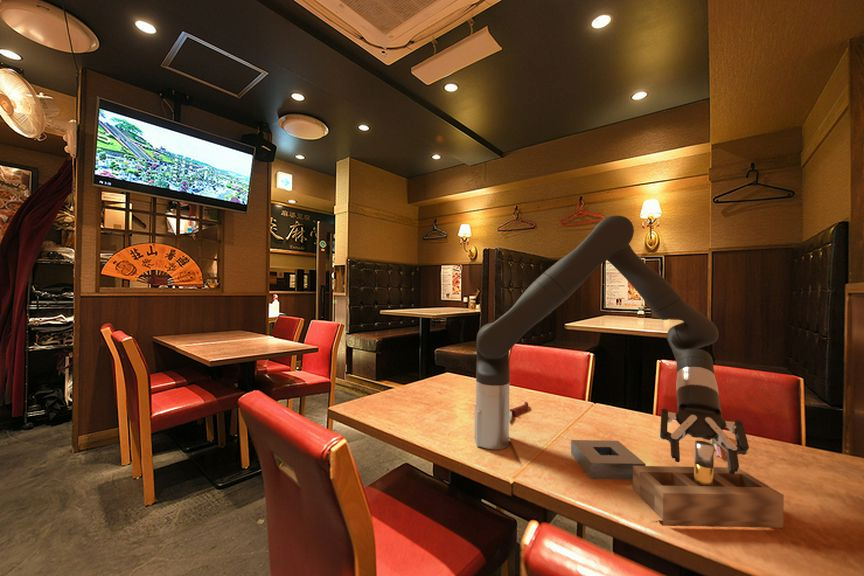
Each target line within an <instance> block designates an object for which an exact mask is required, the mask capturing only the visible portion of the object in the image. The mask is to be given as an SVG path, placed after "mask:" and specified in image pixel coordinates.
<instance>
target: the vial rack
mask: <svg viewBox="0 0 864 576" xmlns="http://www.w3.org/2000/svg"><path fill="white" fill-rule="evenodd" d="M632 490H633V492H635V493H636V495H638V497H640V498H641V500H642V501H643V502H644V503H645V504H646V505H647V506H648V507H649V508H650V509H651V510H652V511H653V512H654V513H655V514H656V515H657V517H659V518H660V519H659V520H657V521H658V522H659V523H660V525H662V526H664V527H665V526H668V527H669V526H670V527H672V526H674V527H721V528H722V527H723V528H724V527H726V528H727V527H729V528H730V527H731V528H734V527H735V528H777V529H778V528H779V529H783V528H784V510H785V509H784V505H785V503H784V502H785V501H784V498H785V496H784V494H783V493H781V492H779V491H778V490H776V489H775V488H773V487H771V486H769V485H768V484H766V483H765V482H762V481H761V480H759V479H757V478H756V477H755V476H753V475H751V474H749V473H747V472H746V471H744V470H742V469H741V468H740V467H739V468H738V471H737V472H735V473H734V474H730V473H729V470H728V466H727V467H726V466H723V467H722V466H714V468H713V486H699V485H697V484H696V483H695V482H694V466H669V465H667V466H665V465H657V466H656V465H646V466H633V480H632Z"/></svg>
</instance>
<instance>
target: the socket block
mask: <svg viewBox="0 0 864 576" xmlns="http://www.w3.org/2000/svg"><path fill="white" fill-rule="evenodd" d="M570 454H571V456H572V457H573V458H574V459H575V460H576V462H577V463H578V465H580V467H581V468H582V469H583V470H584V472H585V473H586V474H587V476H589V479H591V480H632V481H633V466H647V465H646V462H644V461H643V460H642V459H640V458H639V457H638V456H637V455H636V454H634V453H633V451H632V450H630V449H628V448H627V447H626V446H625V445H624V444H623V443H622V442H620V441H619V440H604V439H603V440H601V439H600V440H598V439H597V440H595V439H571V440H570Z"/></svg>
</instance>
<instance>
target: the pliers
mask: <svg viewBox="0 0 864 576" xmlns="http://www.w3.org/2000/svg"><path fill="white" fill-rule="evenodd" d="M528 409H529V403H528V402H527V401H524V404H521V405H519V406H517V407H514V408H511V409H510V408H509V423H511V422H512V420H513V417H516V418H517V417H518V415H520V414H522V413H523V414H524V413H525V412H527V411H528Z"/></svg>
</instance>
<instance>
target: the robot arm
mask: <svg viewBox="0 0 864 576" xmlns="http://www.w3.org/2000/svg"><path fill="white" fill-rule="evenodd" d="M634 233H635V229H634V224H633V222H632V221H631V220H630V219H629V218H627V217H626V216H623V215H610V216H607V217H605V218H603V219H602V220H600V221H599V222H598V223H597V224H596V225H595V226H594V228H593V229H592V230H591V232H590V233H589V234H588V235H587V236H586V237H585V239H583V240H582V242H581V243H580V244H578V245H577V246H576V247H575V248H574V249H573V250H571V251H570V252H569V253H567V254H566V255H565V256H563V257H562V258H561V259H559V260H557V262H555V263H554V264H553V265H551V266H550V267H548V269H546V270H545V271H544V272H543V273H542V274H541V275H539V276H538V277H537V278H536V279H535V280H534V281H533V282H532V283H531V284H530V285H529V286H528V287H527V288H526V290H525V291H524V292H523V293H522V294H521V295H520V296H519V298H518V299H517V301H516V302H515V303H514V305H513V306H512V307H510V309H508V310H507V311H506V312H505V313H504V314H503V315H501V316H500V317H499V318H498V319H496V320H495V321H494V322H490V323H486V324H484V325H483V326H482V327H480V329H479V330H478V332H477V334H476V365H475V366H476V367H475V368H476V369H475V370H476V371H475V378H476V379H475V381H476V382H475V389H476V390H475V405H474V437H473V438H474V440H475V444H476V445H475V446H476V447H478V448H484V449H488V450H503V449H505V448H507V447H509V444H510V422H509V411H510V377H511V373H510V372H511V371H510V350H512V348H514V347H515V345H516V344H517V343H518V342H519V340H520V339H521V338H522V337H523V336H524V335H525V334H526V333H527V332H529V330H530V329H532V328H533V327H534V326H535V325H537V324H538V323H539V322H541V321H542V320H544V318H546V317H548V316H549V315H550V314H551V313H552V312H554V311H555V310H556V309H557V308H558V307H560V306H561V305H562V304H563V303H564V302H565V301H566V300H568V299H569V298H570V297H571V296H572V295H573V293H575V292H576V291H577V290H578V288H580V287H581V286H582V284H583V283H584V282H585V281H586V280H587V279H588V278H589V277H590V275H592V273H593V272H594V271H596V269H598V268H599V266H601V265H602V264H603V263H604V262H606V261H607V262H608V263H609V264H611V265H612V266H613V267H614V268H615V269H616V270H617V271H618V272H619V273H620V274H621V276H622V277H623V278H625V279H626V281H627V282H628V283H629V284H630V285H631V286H632V288H633V289H634V290H635V291H636V292H637V293H638V294H639V296H640V297H641V298H642V299H643V301H644V302H645V303H646V305H647V306H648V307H649V308H650V310H651V311H652V312H653V313H654V315H656V317H658V319H660V320H662V321H663V320H664V321H667V320H674V319H676V320H680V321H682V322H680V323H678V324H675V325H673V326H671V327H670V328H669V329H668V331H667V333H666V339H667V343H668V345H669V346H670V349H671V350H672V353H673V357H674V358H675V362H676V379H675V381H676V382H675V385H676V387H675V390H676V400H677V402H676V403H677V404H676V405H677V412H671V411H669V410H668V409H667V408H662V409H661V412H660V429H659V437H660V439H661V440H665V441H668V442H669V443H670V457H671V458H672V459H674V462H675V463H680V461H681V455H680V454H681V453H680V450H681V449H680V441H681V440H683V439H684V438H686V436H687V435H689V436H691V437H692V438H699V439H700V438H701V439H703V440H707V441H710V439H713V440H714V441H715V442H716V443H717V446H718V445H719V447H720V448H722V449H723V450H724V451H725V453H726V462H727V467H728V470H729V473H730V474H734V473H735V472H737V471H738V468H739V469H740V463H739V455H742V456H745V455H747V453H748V450H749V449H750V446H749V442H748V439H747V435H746V430H745V427H744V423H743V421H742V420H739V419H736V420H735V421H729V420H725V419H724V418H723V416H722V409H721V402H720V395H719V388H718V387H719V386H718V382H717V380H716V375H715V368H714V360H713V357H712V355H711V354H710V353H709V352H707V350H704V349H701V348H703V347H707V346H710V345H713V344H714V343H716V342H717V341H718V340H719V336H720V335H719V330H718V327H717V325H716V324H715V323H714V321H712V320H711V319H709V318H708V317H707V316H706V315H704V314H703V313H701V312H700V311H698V310H697V309H695V308H694V307H693V306H691V305H690V304H688V303H687V302H686V301H685V300H684V299H683V298H682V297H681V295H680V294H679V293H678V292H677V291H676V290H675V289H674V288H673V286H672V285H671V284H670V282H668V281H667V280H666V278H664V277H663V276H662V275H660V274H659V273H658V272H657V271H655V270H654V269H653V268H652V267H650V266H649V265H648V264H647V263H645V262H644V261H643V260H642V259H641V258H640V257H639V255H637V253H636V252H635V251H634V249H633V248H632V246H631V244H630V243H631V242H632V240H633V237H634ZM673 420H675V421H676V422H677V423H678V424H679V426H678V427H677V428H676V429H675V430H674V431H673V432H669V431H668V425H669V423H672V422H673ZM726 428H727V429H728V430H729V433H731V434H734V436H735V440H736V441H735V442H736V444H735V443H734V442H733V441H732V440H731V439H730V438H729V436H728V435H727V434H726V433H725V431H724V430H725V429H726Z"/></svg>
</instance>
